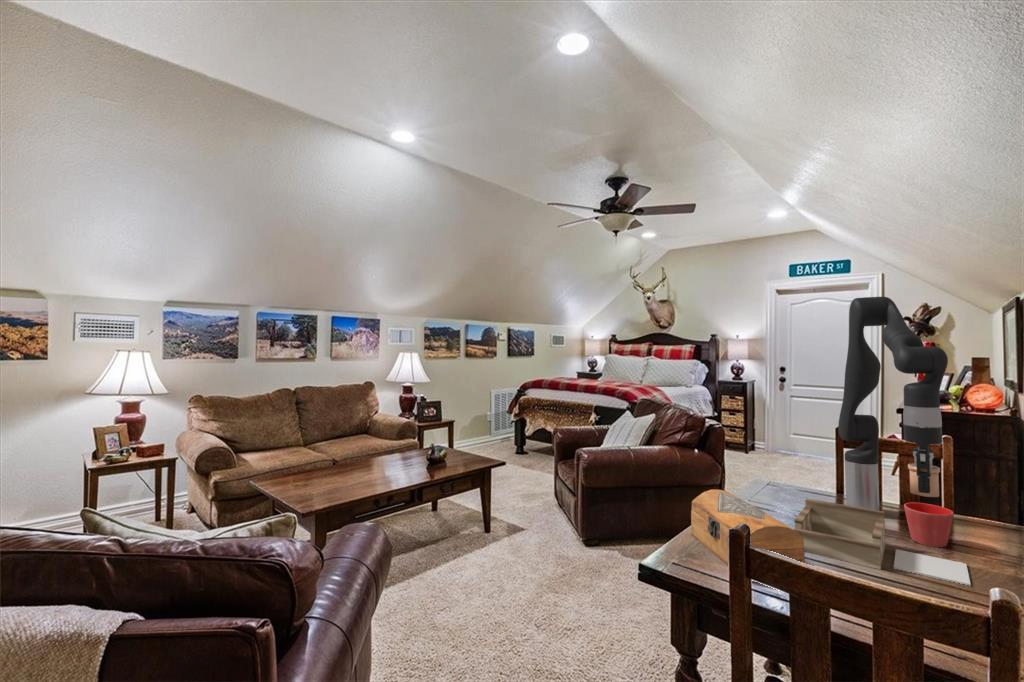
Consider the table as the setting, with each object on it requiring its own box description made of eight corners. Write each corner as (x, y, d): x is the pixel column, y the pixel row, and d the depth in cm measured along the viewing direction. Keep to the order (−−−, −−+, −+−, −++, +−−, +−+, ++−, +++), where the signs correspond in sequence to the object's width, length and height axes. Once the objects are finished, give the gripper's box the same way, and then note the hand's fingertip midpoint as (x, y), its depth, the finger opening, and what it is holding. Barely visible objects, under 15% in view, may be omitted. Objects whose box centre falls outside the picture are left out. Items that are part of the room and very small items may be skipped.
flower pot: (965, 551, 130) (963, 515, 130) (919, 548, 132) (918, 513, 132) (938, 536, 140) (937, 503, 140) (896, 533, 142) (895, 501, 142)
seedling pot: (909, 488, 125) (908, 454, 126) (940, 493, 121) (939, 458, 121) (908, 494, 121) (907, 458, 121) (940, 498, 117) (939, 462, 117)
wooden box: (687, 535, 143) (686, 489, 143) (740, 534, 144) (739, 488, 144) (740, 584, 113) (738, 525, 113) (806, 581, 114) (805, 523, 114)
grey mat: (896, 550, 130) (895, 549, 130) (966, 565, 121) (966, 563, 121) (893, 568, 119) (893, 566, 119) (970, 586, 110) (970, 584, 110)
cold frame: (806, 529, 146) (805, 498, 146) (885, 545, 134) (884, 511, 134) (793, 549, 132) (793, 514, 132) (881, 569, 119) (880, 531, 119)
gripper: (904, 419, 129) (906, 481, 129) (901, 425, 119) (904, 493, 118) (941, 422, 124) (943, 486, 124) (942, 428, 114) (944, 499, 113)
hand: (924, 489), depth 121 cm, fingers closed on seedling pot, 5 cm apart
